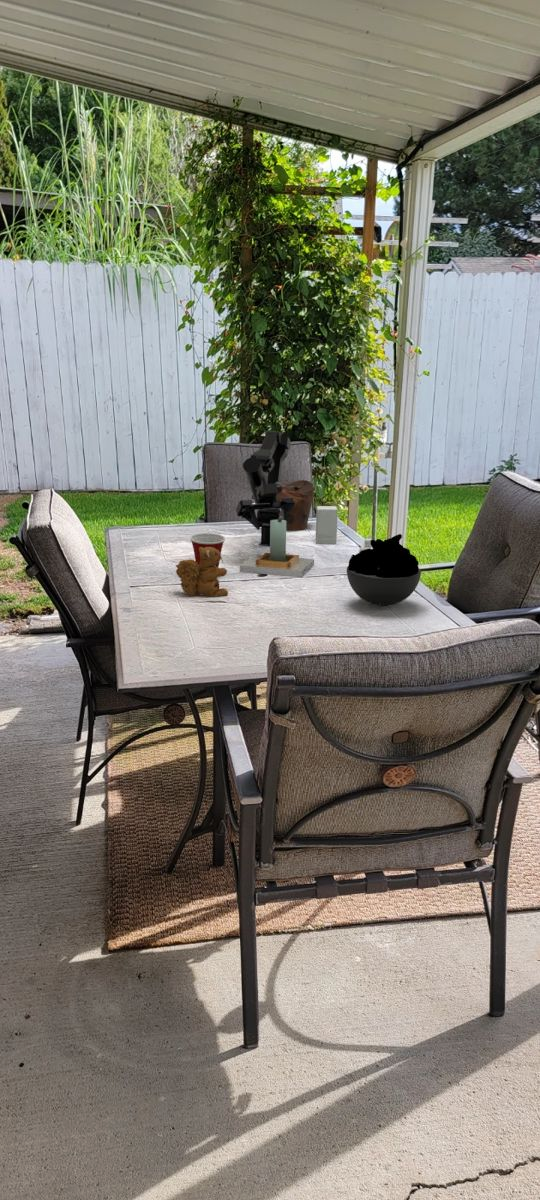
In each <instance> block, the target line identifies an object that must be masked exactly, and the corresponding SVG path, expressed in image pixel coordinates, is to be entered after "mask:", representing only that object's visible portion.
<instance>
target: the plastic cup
mask: <svg viewBox="0 0 540 1200" xmlns="http://www.w3.org/2000/svg"><path fill="white" fill-rule="evenodd" d="M189 540H190V542H191V545H192V548H193V554H194V561H196V562H197V563H198V565H199V564H200V552H199V548H200V547H202V548H205V547H213V548H215V549H217V550H218V551H219V552H220V554H221V555H222V551H223V550H222V548H223V545H224V542H225V541H226V537H225V536H224V535H221V534H219V533H214V532H213V533H212V532H199V533H194V534H192V535H191V536H189ZM220 561H221V560H220ZM220 561H219V562H218V563H216V564H215V565H216V567H218V568H219V566H220Z"/></svg>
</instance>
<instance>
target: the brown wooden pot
mask: <svg viewBox="0 0 540 1200" xmlns="http://www.w3.org/2000/svg"><path fill="white" fill-rule="evenodd" d="M282 488H283V490H282V492H280V493H279V495H278V502H280V500H281V498H283V497H292V498H293V499H294V501H295V505H294V507H293V508H292V510H291V512H290V513H288V515H287V526H286V531H302V530H305V529H306V528H307V527H308V523H309V518H310V514H311V508H312V504H313V500H314V498H315V493H314V492H315V487H314V484H313V483H312V482H311V481H308V480H305V479H302V480H301V479H300V480H296V481H292V482H289V483H285V484H282Z"/></svg>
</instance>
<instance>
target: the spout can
mask: <svg viewBox="0 0 540 1200" xmlns="http://www.w3.org/2000/svg"><path fill="white" fill-rule="evenodd" d="M282 519H283V517H282V516H279V519H278V520H271V521H270V545H269V553H270V561H282V562H286V554H287V553H286V552H287V530H286V521H285V520H282Z"/></svg>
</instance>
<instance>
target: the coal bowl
mask: <svg viewBox="0 0 540 1200" xmlns="http://www.w3.org/2000/svg"><path fill="white" fill-rule="evenodd" d="M402 538H403V535H402V533H398V534H396V535H394V536H392V537H390V538H387V539H384V540H382V539H381V538H377V539H376V540H375V539H372V540H371V546H372V548H373V549H365V550H362V551H360V552H359V551H358V553H356V554H352V555H351V556H350V558H349V560H348V564H347V565H348V566H347V567H346V577H347V580H348V582H349V586H350V587H351V589H352V590H353V592H354V593H355V594H356V595H357V596H358V598H360V599H361V600H363V601H365V602H366V603H368V604H371V605H374V606H378V607H389V606H394V605H397V604H399V603H401V602H404V601H405V600H407V598H409V597H410V596H411V595H412V594H413V592H414V591H415V590H416V588H417V587H418V585H419V582H420V579H421V576H422V570H421V569H420V567H419V563H420V562H419V560H418V559H417V557H416V556H415V555H414V554H411V550H410V548H409V549H408V548H406V547H404V546H403V545H402V544H400V542H401V539H402Z"/></svg>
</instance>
